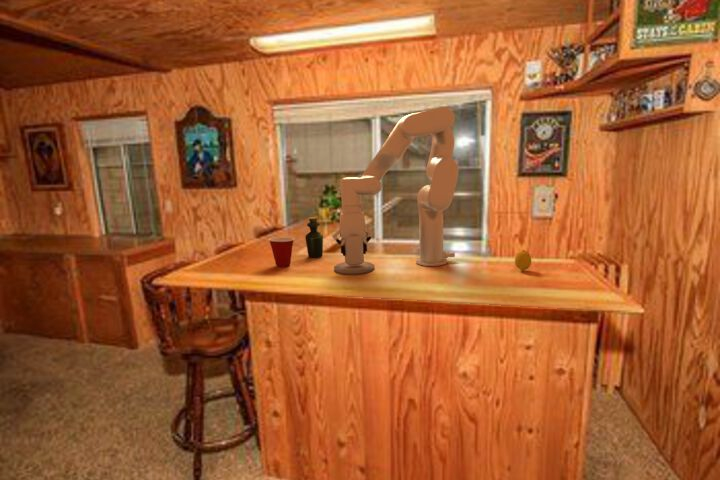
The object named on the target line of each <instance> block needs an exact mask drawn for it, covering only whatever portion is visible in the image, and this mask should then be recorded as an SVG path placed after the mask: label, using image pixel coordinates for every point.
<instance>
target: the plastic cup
mask: <svg viewBox="0 0 720 480" xmlns="http://www.w3.org/2000/svg"><path fill="white" fill-rule="evenodd" d="M268 241H269V244H270V247H271V251H272V255H273V258H274V262H275V265H276V268H287V267H288V268H289V267H290V266H291V264H292V263H291V262H292V252H293V245H294V241H295V237H284V236H283V237H282V236H281V237H280V236H278V237H277V236H276V237H269V238H268Z"/></svg>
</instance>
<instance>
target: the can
mask: <svg viewBox="0 0 720 480" xmlns="http://www.w3.org/2000/svg"><path fill="white" fill-rule="evenodd" d="M344 246H345V256H344V262H346V263H347V264H348V265H352V266H355V265H360V264H362V263H363V262H365V254H364V251H363V238H361V237H360V235H355V236H349V237H348V238H347V239H345V243H344Z"/></svg>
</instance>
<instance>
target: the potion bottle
mask: <svg viewBox="0 0 720 480" xmlns="http://www.w3.org/2000/svg"><path fill="white" fill-rule="evenodd" d="M308 221H309V222H307V224H306V227H308V228H309V230H310V232H308V233H306V234H305V237H304V239H305V244H306V250H307V256H308V258H309V259H320V258H322V257H323V253H324V251H323V250H324V235H323V234H322V233H321V232H319V231H318V227H319V226H320V222H318V217H313V216H312V217H308Z"/></svg>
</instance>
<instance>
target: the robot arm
mask: <svg viewBox="0 0 720 480" xmlns="http://www.w3.org/2000/svg"><path fill="white" fill-rule="evenodd" d="M455 118H456V117H455V114H454V111H453V110H452V109H451V108H449V107H447V106H439V107H436V108H431V109H428V110H424V111H418V112H414V113H410V114H407V115H405V116H403V117H402V118H400V119H399V120H398V121H397V123H396V125H395V127H394V128H393V129H392V131H391V132H390V133H389V135H388V137H387V139H386V140H385V142H384V143H383V145H382V146H381V147H380V149H379V150H378V152H377V153H376V155H375V156H374V158H373V159H372V160H371V162H370V163H368V166H367V167H366V169H365V170H364V172H363V173H362V175H361V177H357V176H351V177H350V176H349V177H343V178H341V180H340V194H341V195H340V196H341V212H342V213H340V214H339V229H338V230H337V231H336V232H334V233H333V234H332V236H331V237H332V239H334V240H335V242H336V243H337V244H338V245H340V253H341V254H342V255H343V257H345V246H344V243H345V239H347V238H348V237H349V236H355V235H360V237H361V238H363V251H364V255H366V254H367V252H368V243H369V242H370V241H371V239H372V238H373V237H374V235H375V233H374V231H372V230H370V229H369V228H368V227H367V226H366V225H367V224H366V220H365V219H366V218H365V214H364V212H363V210H366V205H362V196H367V197H368V196H369V197H371V196H372V197H373V196H376V195H379V193H380V192H381V191H382V188H383V185H382V184H383V183H382V181H381V180H382V179H383V177H384V176H385V175H386V173H387V172H388V171H389V170H390V169H391V168H392V167H394V166H395V165H397V164H398V163H399V162H400V161H401V159H402V158H403V156H404V154H405V153H406V151H407V150H408V148H409V147H410V145H411V144H412V142H413V141H414V139H415V138H419V137H423V136H424V137H425V136H428V135H430V138H431V149H430V154H429V158H428V162H427V165H426V169H425V175H426V177H427V179H429V180H430V181H431V183H430V184H427V185H425V186H423V187H421V188H420V190H419V191H418V194H417V200H416V201H417V208H418V219H419V221H418V224H419V225H418V227H419V233H418V234H419V235H418V236H419V257H418V258H416V260H415V262H416V264H417V265H419V266H425V267H439V266H443V265H447V264H448V258H455V256H456V253H455V252H450V251H444V213H443V211H446V210H447V209H448V208H449V207H450V205H451V203H452V201H453V198H454V195H455V190H456V188H457V187H456V186H457V183H458V182H457V181H458V178H459V165H458V163H457V161H456V160H455V159H453V155H454V149H455V148H454V147H455V136H454V133H453V130H452V128H451V127H453V125H454V124H455ZM367 233H368V236H367ZM338 236H340V238H341V239H339V238H338Z"/></svg>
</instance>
